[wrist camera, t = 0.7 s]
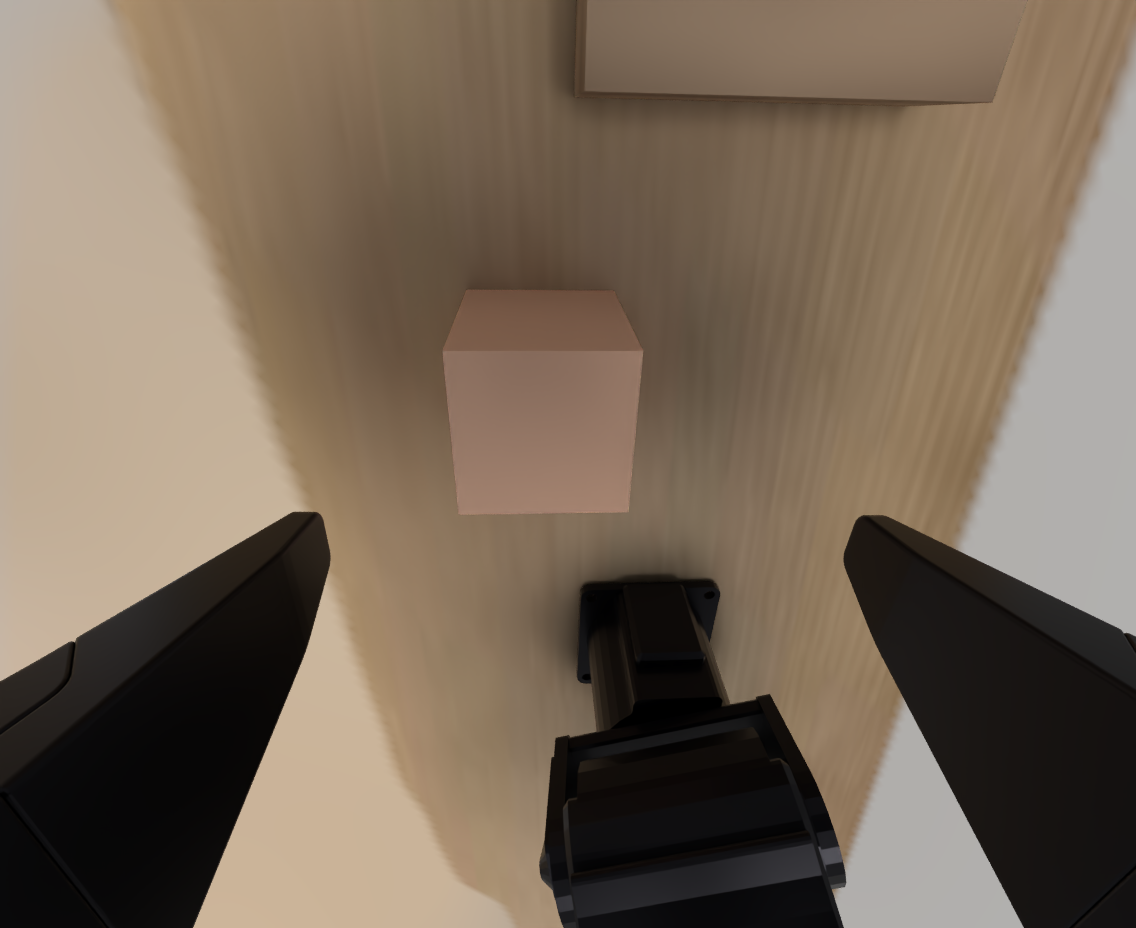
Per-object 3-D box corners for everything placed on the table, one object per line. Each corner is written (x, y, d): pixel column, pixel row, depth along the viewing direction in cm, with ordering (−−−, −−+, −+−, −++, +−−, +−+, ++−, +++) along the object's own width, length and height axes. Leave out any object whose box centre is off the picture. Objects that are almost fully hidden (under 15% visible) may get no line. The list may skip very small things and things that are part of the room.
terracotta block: (605, 420, 22) (628, 512, 17) (475, 421, 22) (458, 514, 16) (613, 290, 19) (643, 350, 14) (466, 289, 19) (442, 350, 14)
